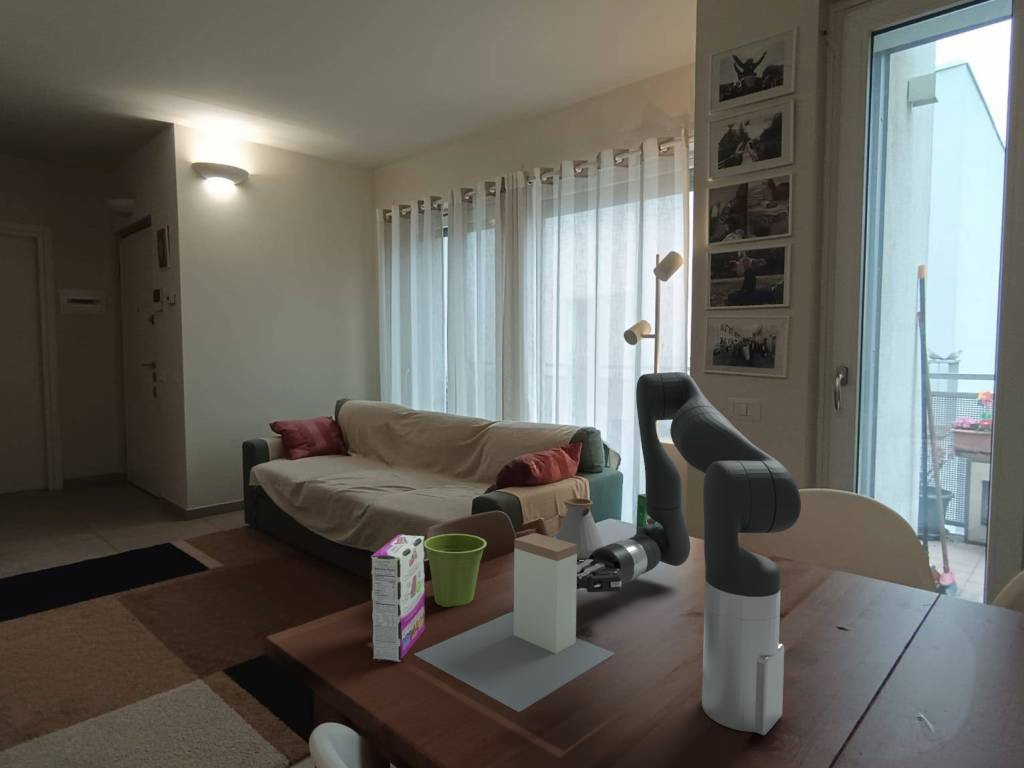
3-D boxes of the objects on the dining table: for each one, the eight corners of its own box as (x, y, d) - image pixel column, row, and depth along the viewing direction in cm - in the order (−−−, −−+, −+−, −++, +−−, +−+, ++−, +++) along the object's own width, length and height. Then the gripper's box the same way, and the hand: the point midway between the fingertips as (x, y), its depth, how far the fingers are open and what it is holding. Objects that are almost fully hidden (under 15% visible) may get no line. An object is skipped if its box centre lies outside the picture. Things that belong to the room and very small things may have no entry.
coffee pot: (551, 548, 150) (552, 486, 149) (599, 548, 150) (600, 487, 149) (558, 580, 128) (559, 508, 128) (614, 580, 128) (615, 509, 128)
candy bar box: (397, 628, 105) (398, 533, 104) (425, 631, 104) (426, 535, 103) (369, 660, 94) (369, 554, 93) (400, 664, 93) (401, 556, 92)
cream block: (575, 642, 99) (577, 544, 99) (555, 653, 96) (557, 551, 95) (533, 625, 106) (534, 532, 105) (513, 635, 102) (514, 539, 101)
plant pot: (471, 618, 110) (472, 555, 109) (411, 608, 113) (412, 548, 113) (495, 593, 121) (495, 537, 120) (439, 585, 125) (440, 530, 124)
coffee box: (658, 542, 155) (660, 490, 154) (667, 545, 153) (668, 492, 152) (634, 547, 151) (636, 494, 150) (643, 550, 148) (644, 496, 148)
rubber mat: (615, 657, 96) (615, 653, 96) (518, 716, 80) (518, 712, 80) (511, 614, 111) (511, 611, 111) (413, 658, 95) (413, 654, 95)
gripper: (589, 535, 120) (530, 556, 107) (649, 551, 111) (592, 575, 98) (589, 574, 120) (529, 598, 108) (649, 592, 111) (591, 622, 99)
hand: (559, 587), depth 103 cm, fingers closed
